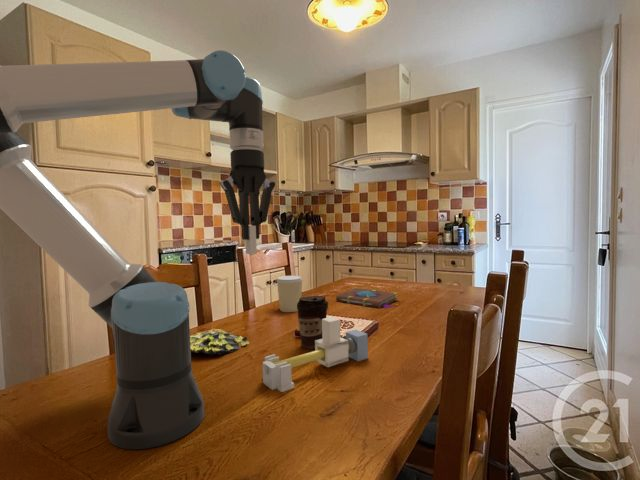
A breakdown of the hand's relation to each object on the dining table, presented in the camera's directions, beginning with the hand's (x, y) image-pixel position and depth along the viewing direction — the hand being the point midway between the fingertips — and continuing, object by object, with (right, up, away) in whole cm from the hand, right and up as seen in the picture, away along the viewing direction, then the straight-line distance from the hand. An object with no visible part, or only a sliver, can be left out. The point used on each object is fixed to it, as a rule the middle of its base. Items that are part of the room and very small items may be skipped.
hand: (251, 253), depth 85 cm
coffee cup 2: (+14, -25, +13) cm, 32 cm away
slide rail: (+16, -26, -2) cm, 31 cm away
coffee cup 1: (+5, -23, +51) cm, 56 cm away
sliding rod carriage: (+19, -25, 0) cm, 31 cm away
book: (+37, -22, +60) cm, 74 cm away
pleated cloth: (-14, -26, +16) cm, 34 cm away
